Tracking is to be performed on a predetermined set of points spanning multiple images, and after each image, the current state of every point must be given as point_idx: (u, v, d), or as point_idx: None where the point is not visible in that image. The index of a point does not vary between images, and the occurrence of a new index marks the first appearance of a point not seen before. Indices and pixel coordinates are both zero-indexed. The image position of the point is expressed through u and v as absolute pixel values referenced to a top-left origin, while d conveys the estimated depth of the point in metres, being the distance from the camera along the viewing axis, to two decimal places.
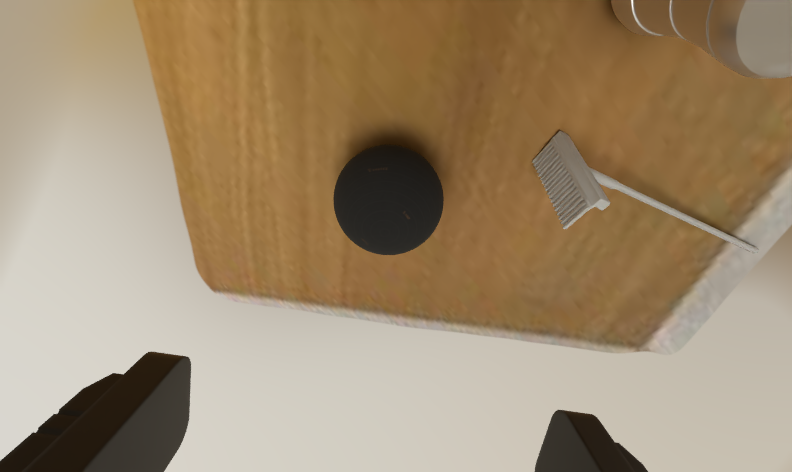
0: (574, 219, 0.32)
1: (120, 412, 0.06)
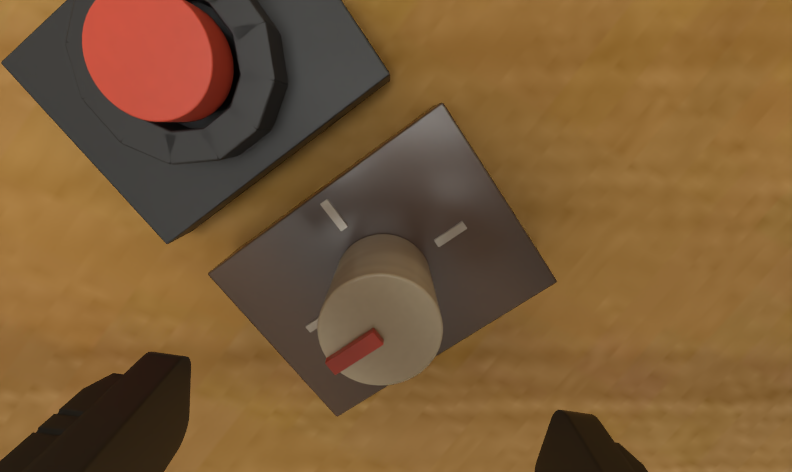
0: None
1: (120, 412, 0.06)
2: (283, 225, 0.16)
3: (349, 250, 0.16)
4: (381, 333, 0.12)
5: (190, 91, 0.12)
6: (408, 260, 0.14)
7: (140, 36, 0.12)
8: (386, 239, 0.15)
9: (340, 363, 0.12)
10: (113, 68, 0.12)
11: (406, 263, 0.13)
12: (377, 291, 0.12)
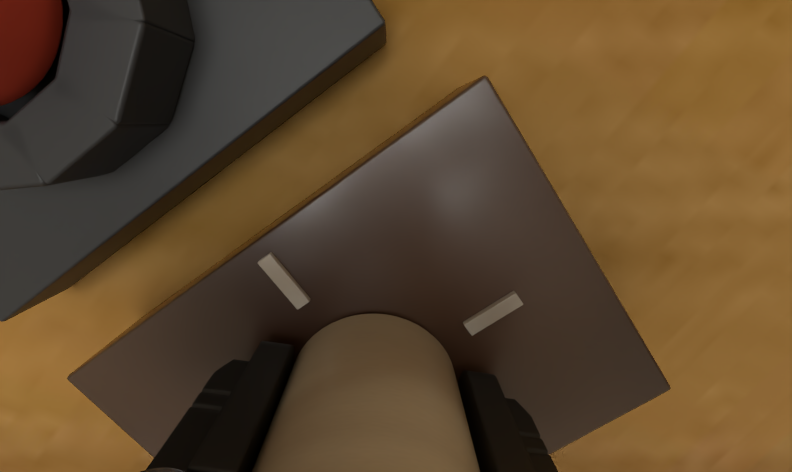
0: None
1: (261, 390, 0.07)
2: (194, 298, 0.09)
3: (310, 348, 0.08)
4: None
5: None
6: (421, 398, 0.07)
7: None
8: (379, 329, 0.08)
9: None
10: None
11: (419, 411, 0.06)
12: None
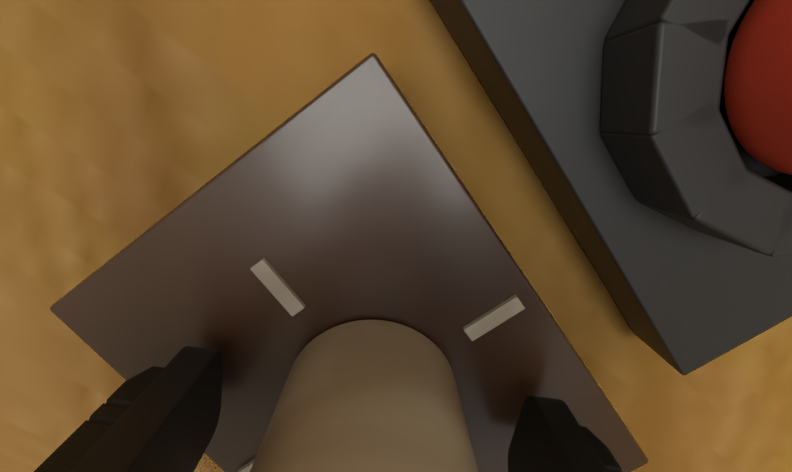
0: None
1: (166, 401, 0.07)
2: (477, 226, 0.08)
3: (302, 359, 0.08)
4: None
5: None
6: (415, 407, 0.06)
7: None
8: (372, 336, 0.08)
9: None
10: None
11: (413, 422, 0.06)
12: None
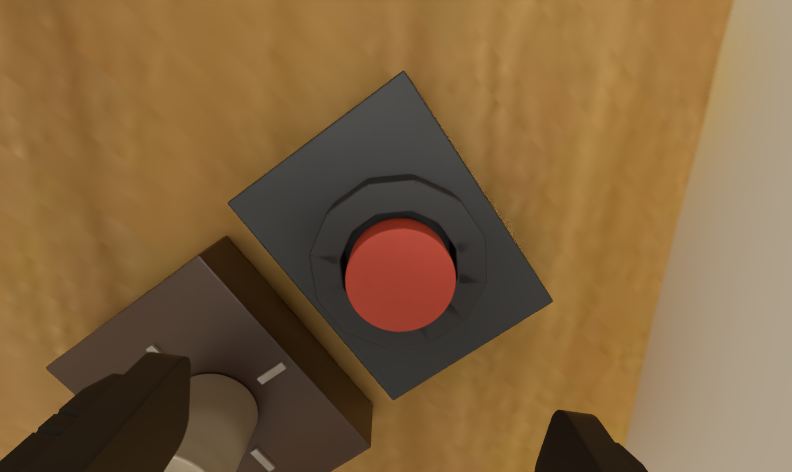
0: None
1: (120, 412, 0.06)
2: (258, 329, 0.17)
3: None
4: None
5: (371, 312, 0.14)
6: (202, 418, 0.15)
7: (415, 279, 0.14)
8: (203, 383, 0.17)
9: None
10: (389, 253, 0.14)
11: (196, 425, 0.15)
12: None
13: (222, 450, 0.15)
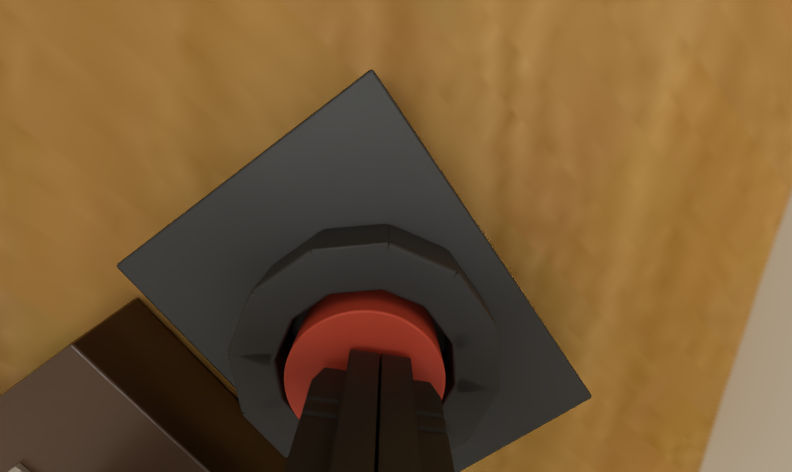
0: None
1: (367, 398, 0.08)
2: (168, 443, 0.12)
3: None
4: None
5: None
6: None
7: None
8: None
9: None
10: (347, 344, 0.09)
11: None
12: None
13: None
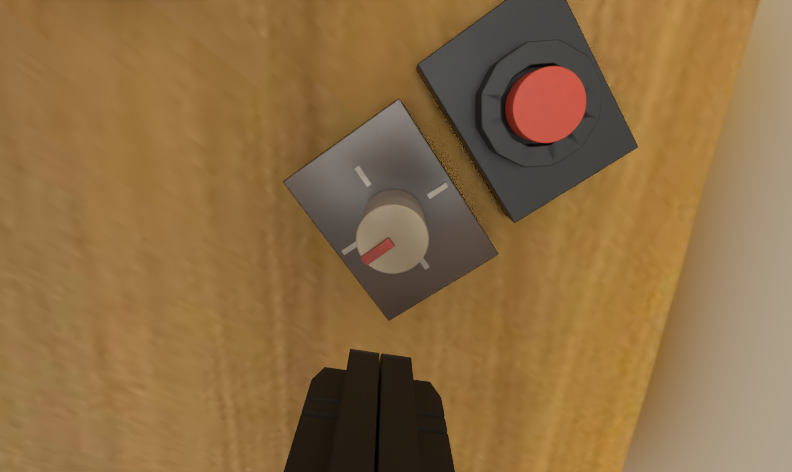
0: None
1: (367, 398, 0.08)
2: (431, 156, 0.25)
3: (371, 199, 0.25)
4: (393, 240, 0.21)
5: (527, 127, 0.22)
6: (408, 201, 0.23)
7: (559, 103, 0.21)
8: (395, 191, 0.24)
9: (369, 258, 0.21)
10: (545, 83, 0.21)
11: (407, 201, 0.22)
12: (390, 214, 0.21)
13: (424, 218, 0.22)
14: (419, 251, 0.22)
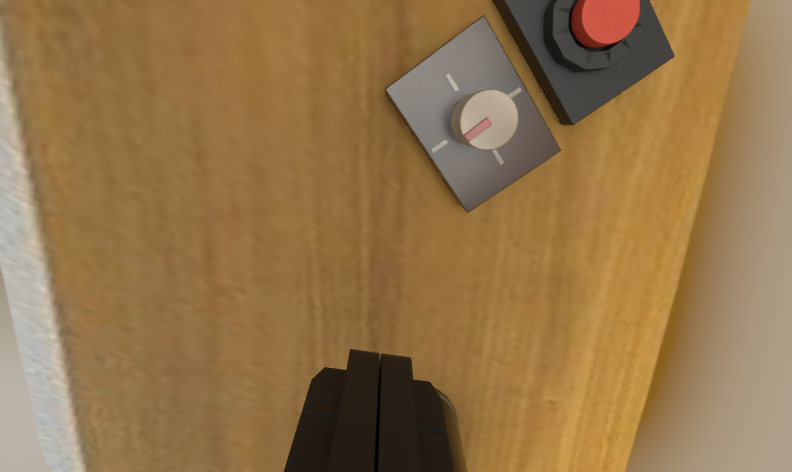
0: None
1: (367, 398, 0.08)
2: (509, 65, 0.30)
3: (460, 100, 0.30)
4: (490, 120, 0.27)
5: (593, 30, 0.27)
6: None
7: (618, 9, 0.27)
8: None
9: (471, 134, 0.27)
10: None
11: None
12: (488, 98, 0.26)
13: None
14: (510, 129, 0.27)
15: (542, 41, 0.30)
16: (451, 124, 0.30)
